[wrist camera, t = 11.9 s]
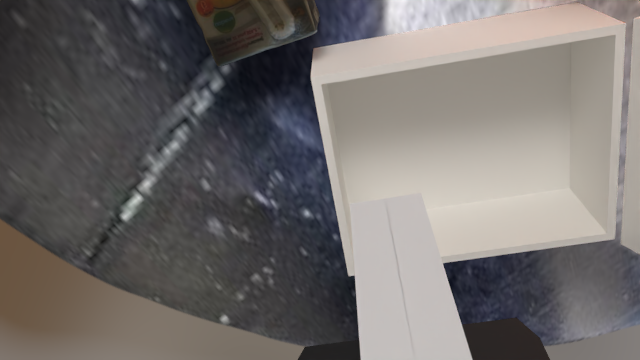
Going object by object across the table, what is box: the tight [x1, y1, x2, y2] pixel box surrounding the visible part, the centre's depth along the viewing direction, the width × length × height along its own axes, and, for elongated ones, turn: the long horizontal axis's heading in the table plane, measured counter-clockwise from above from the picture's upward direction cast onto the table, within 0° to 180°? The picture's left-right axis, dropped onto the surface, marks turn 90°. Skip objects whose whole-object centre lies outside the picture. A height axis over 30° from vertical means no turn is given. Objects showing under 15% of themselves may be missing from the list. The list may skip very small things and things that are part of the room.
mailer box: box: [311, 2, 626, 276], centre depth 44 cm, size 20×16×8 cm
